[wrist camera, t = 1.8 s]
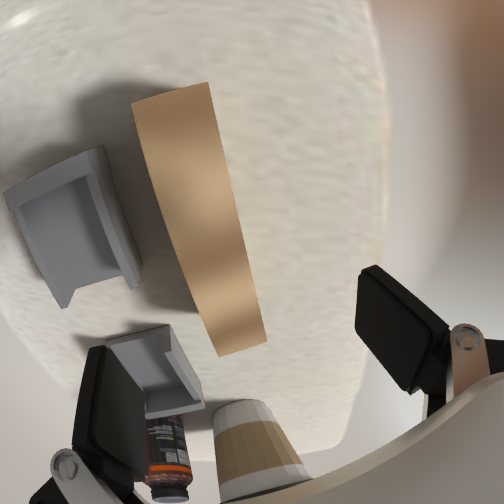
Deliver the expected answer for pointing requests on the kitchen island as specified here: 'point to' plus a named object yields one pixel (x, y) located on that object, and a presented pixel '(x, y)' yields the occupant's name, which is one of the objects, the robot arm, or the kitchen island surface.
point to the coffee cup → (253, 452)
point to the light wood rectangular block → (201, 212)
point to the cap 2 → (160, 371)
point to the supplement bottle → (167, 460)
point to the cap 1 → (75, 225)
